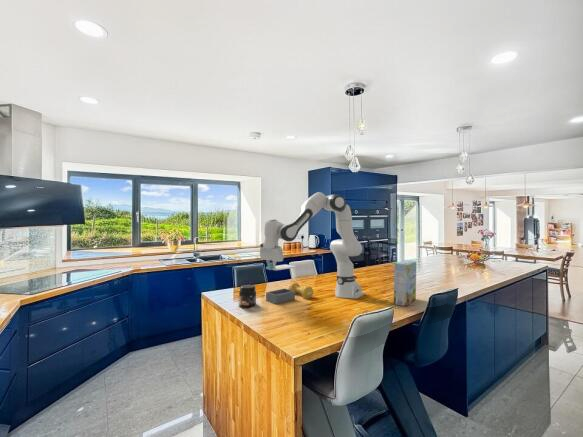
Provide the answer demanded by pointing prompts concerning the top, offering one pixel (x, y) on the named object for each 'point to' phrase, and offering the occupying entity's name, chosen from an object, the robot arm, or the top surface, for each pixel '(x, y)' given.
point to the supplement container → (247, 296)
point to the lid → (279, 267)
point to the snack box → (405, 282)
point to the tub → (280, 296)
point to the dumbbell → (301, 290)
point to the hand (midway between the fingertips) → (271, 267)
